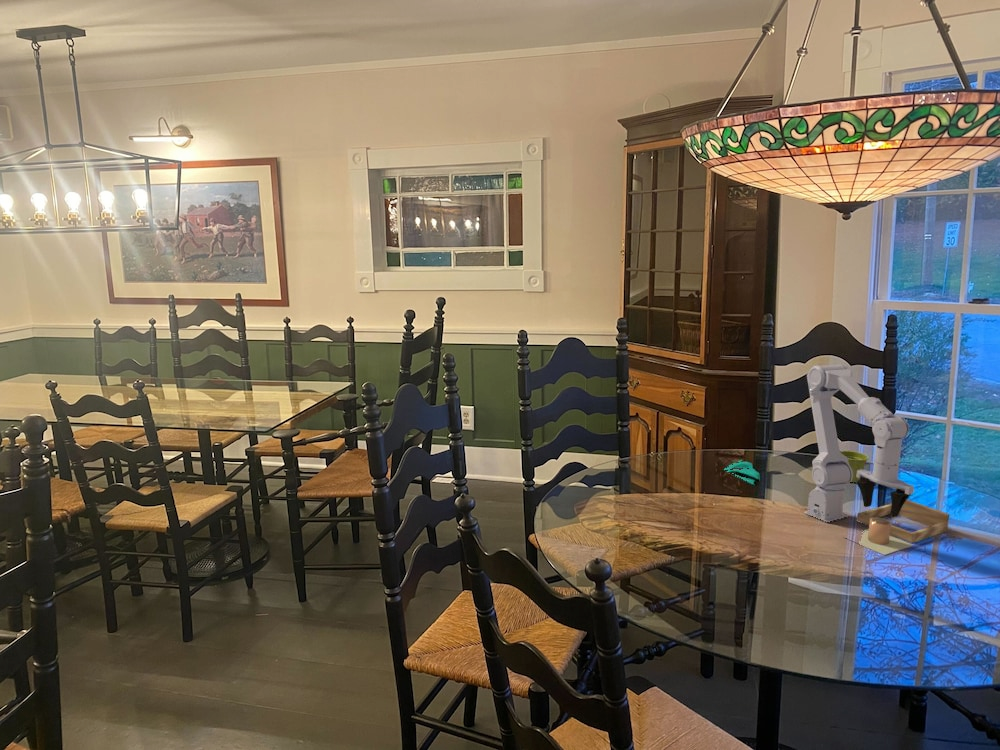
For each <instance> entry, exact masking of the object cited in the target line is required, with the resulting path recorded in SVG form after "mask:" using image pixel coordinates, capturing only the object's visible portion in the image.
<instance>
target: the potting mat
mask: <svg viewBox="0 0 1000 750" xmlns="http://www.w3.org/2000/svg"><path fill="white" fill-rule="evenodd" d="M862 531H863V530H862ZM864 531H865V532H864ZM864 531H863V532H864V533H863V532H862V533H863V535H861V536H862V538H861V541H859V544H860V546H861V545H862V547H864V548H866V549H869V550H871V551H873V552H875V553H879V554H880V555H882V556H886V555H889V554H892V553H895V552H898V551H901V550H904V549H907V548H910V547H913V546H914V543H910V542H907V541H905V540H902V539H900V538H897V537H895V536H892V535H890V538H889V543H888V544H886V545H881V544H876V543H873V542H870V541H869V540H868V532H869V528H867V529H864ZM859 544H858V545H859Z"/></svg>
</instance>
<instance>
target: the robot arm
mask: <svg viewBox="0 0 1000 750" xmlns="http://www.w3.org/2000/svg"><path fill="white" fill-rule="evenodd" d="M806 380H807V385H808V392H809V398H810V404H811V410H812V411H811V412H812V416H813V423H814V429H815V435H816V440H817V441H816V442H817V447H818V455H817V456H816V457H815V458H813V460H812V463H811V464H812V470H811V477H812V480H813V482H814V483H815V485H816V487H815V488H813V489H812V490H811V491H810V492H809V493H808V499H807V500H808V501H807V509H806V510H805V511H804V514H805V515H808V516H811V517H812V516H813V518H815V517H816V518H815V519H817V518H818V520H820V519H821V520H820V521H822V520H824V521H823V522H825V521H826V522H825V523H827V522H829V523H831V522H830V521H832V522H834V521H833V520H836V521H838V520H837V519H839V520H841V519H840V518H842V519H845V518H844V517H846V518H848V516H849V517H850V515H849V514H847V513H844V512H843V511H844V499H845V491H846V490H845V489H846V488H847V487H848V484H850V482H851V481H852V479H853V471H852V468H851V467H850V465H849V462H848V458H847V457H846V456H844V455H843V454H842V453H840V451H841V450H840V446H839V440H838V434H837V428H836V421H835V416H834V410H833V404H832V398H833V396H834V395H835V394H836V393H837V392H838V391H841V392H842V393H844V394H845V395H846V396H847V397H848V398H849V399H850V400H851V401H853V402H854V403H855V404H856V405H857V412H858V413H859V415H860V416H862V417H863V418H864V420H865V421H867V423H869V425H870V426H871V427H872V428H871V430H872V434H873V436H874V444H875V449H874V459H873V467H872V471H869V470H865V469H863V470H862V469H861V470H857V475H856V477H858V478H860V480H858V481H857V483H856V485H857V486H858V488H859V491H860V493H861V497H862V502H863V507H864V508H868V507H871V506H872V503H873V496H874V492H875V487H876V484H879V485H881V486H883V487H887V488H890V489H894V491H890V501H891V500H892V507H891V514H890V517H891V518H897V517H899V516H900V515H899V512H900V510H901V508H902V506H903V504H904V503H905V501H906V500H909V497H910V496H911V495H912V494H914V489H915V486H914V485H911V484H908V483H907V482H905V481H902V480H901V479H899V478H898V475H899V466H900V459H901V451H902V443H903V439H905V438H906V437H907V436H908V435H909V433H910V426H909V423H908V421H907V420H906V419H905V417H903V416H901V415H897V414H893V412H891V410H889V409H888V408H887V407H886V406H885V405H884V404H883V403H882V400H880V398H879V397H878V398H877V397H874V396H871V397H870V396H869V395H868V394H867V393H866V391H864V389H863V388H862V387H861V386H860V384H859V383H857V381H856V380H855V379H854V378H853V371H852V370H851V369H849V368H848V366H847V365H846V364H843V363H837V364H830V365H829V364H828V365H813V366H811V368H810V370H809V371H808V372H807V374H806Z"/></svg>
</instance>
